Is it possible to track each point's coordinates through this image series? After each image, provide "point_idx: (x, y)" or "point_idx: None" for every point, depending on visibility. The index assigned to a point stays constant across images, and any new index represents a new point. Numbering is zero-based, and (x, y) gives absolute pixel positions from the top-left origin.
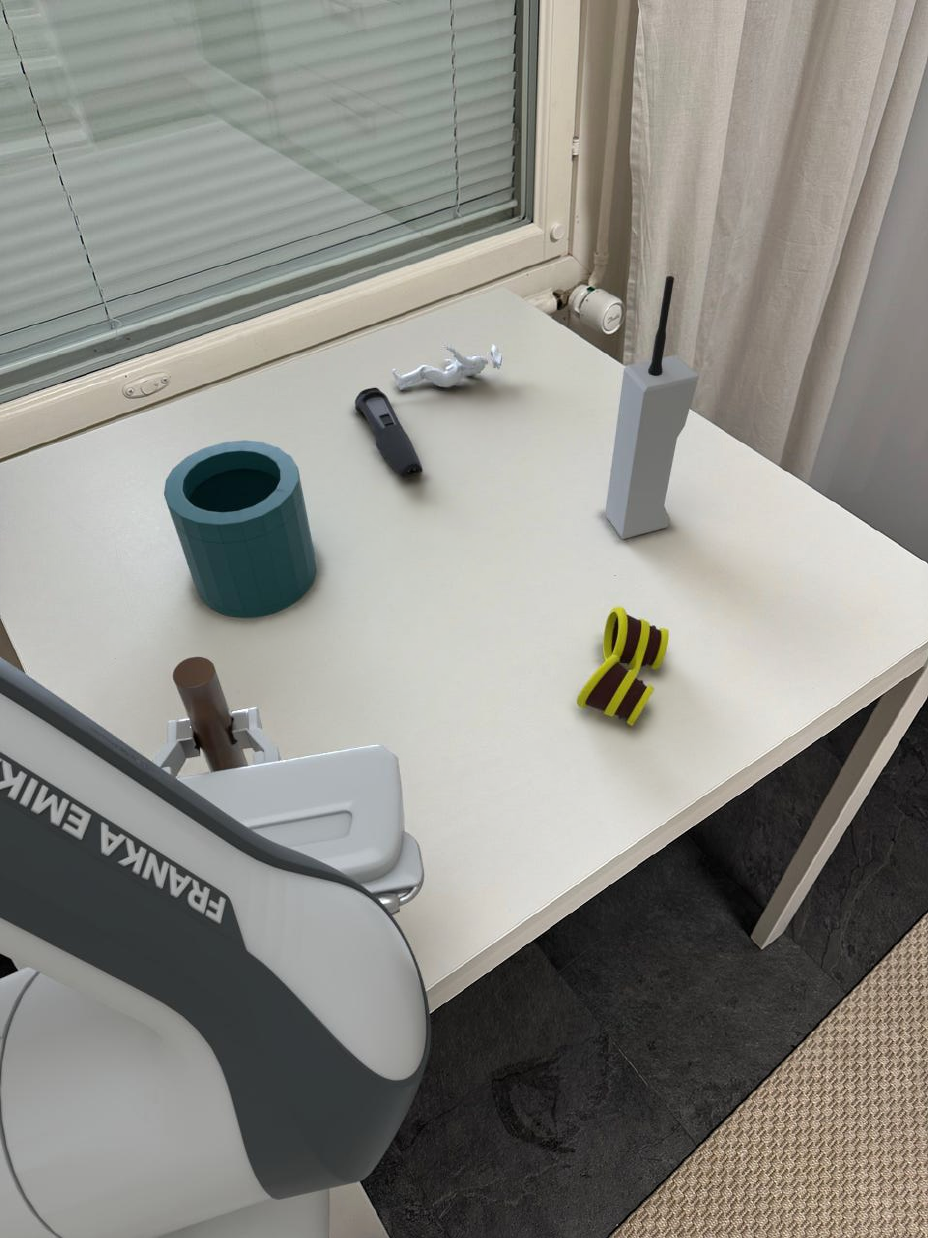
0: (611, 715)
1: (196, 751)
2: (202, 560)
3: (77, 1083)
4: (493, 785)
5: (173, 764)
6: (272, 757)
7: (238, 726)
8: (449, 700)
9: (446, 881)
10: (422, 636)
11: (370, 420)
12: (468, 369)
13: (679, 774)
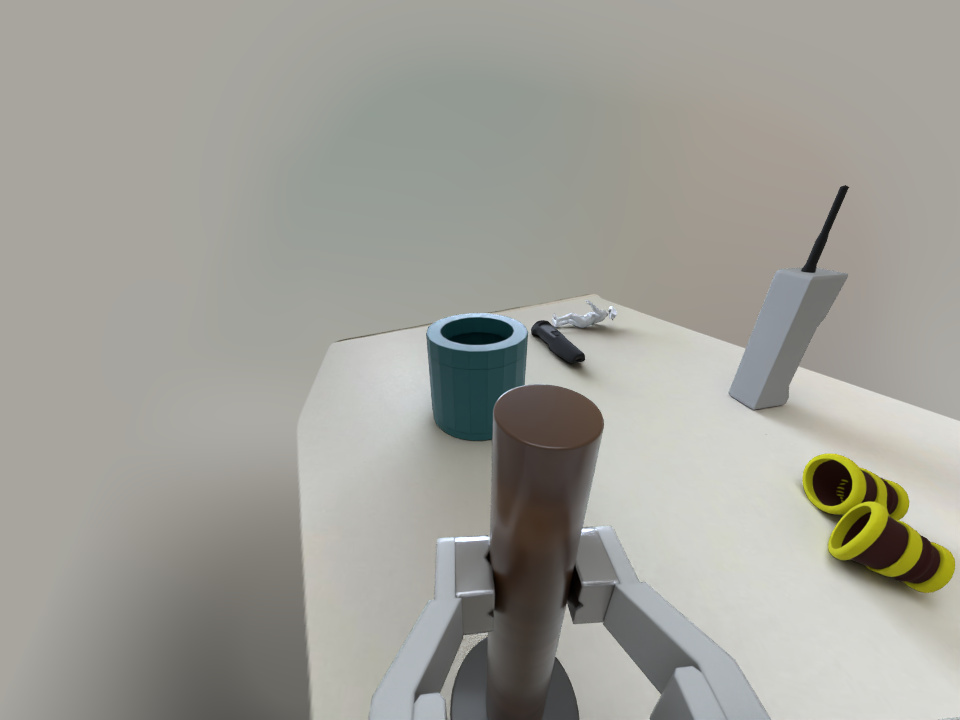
0: (893, 575)
1: (489, 621)
2: (447, 386)
3: None
4: (790, 663)
5: (442, 664)
6: (739, 699)
7: (592, 571)
8: (676, 533)
9: None
10: (623, 468)
11: (545, 334)
12: (597, 317)
13: None
